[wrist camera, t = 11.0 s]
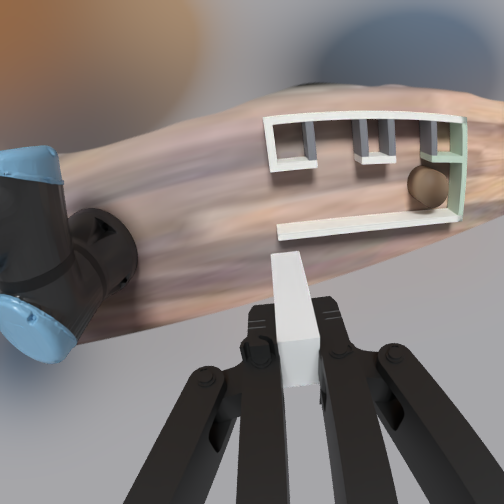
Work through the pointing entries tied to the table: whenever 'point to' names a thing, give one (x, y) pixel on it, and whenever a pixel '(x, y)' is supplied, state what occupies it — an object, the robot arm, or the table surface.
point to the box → (386, 155)
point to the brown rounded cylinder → (428, 186)
